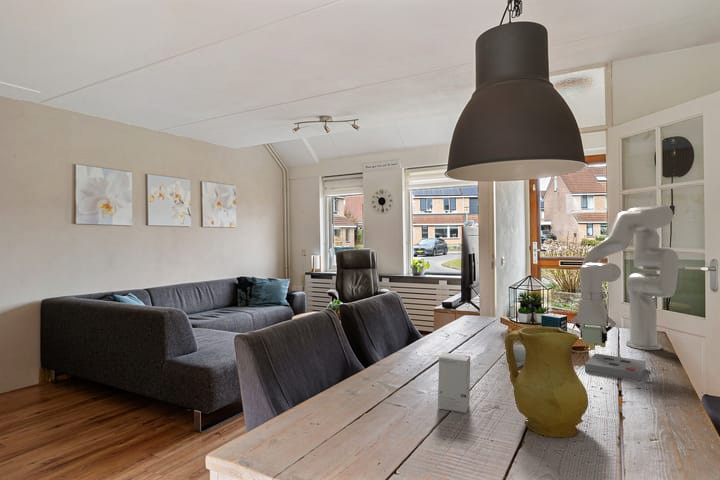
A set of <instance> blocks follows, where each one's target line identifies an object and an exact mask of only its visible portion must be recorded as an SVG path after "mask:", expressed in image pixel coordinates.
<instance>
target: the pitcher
mask: <svg viewBox="0 0 720 480" xmlns="http://www.w3.org/2000/svg"><path fill="white" fill-rule="evenodd" d="M579 339H580V336H579V335H578V334H577V333H573V332H571V331H570V332H568V331H566V330H563V329H562V328H561V327H557V326H556V327H553V326H537V325H536V326H528V327H525V326H524V327H521V328H519V329H516V330H513V331H511V332H510V333H508V334H507V335H506V336H505V339H504V348H505V351H506V352H505V355H506V357H505V358H506V363H507V365H508V371H509V377H510V379H509V380H510V383H511V385H512V386H513V396H514V401H515V406H516V408H517V410H518V411H519V413H520V414H522V415H523V416H524V417H525V418H526V419H525V420H524V421H525V422H524V421H523V422H524V424H525V423H526V425H525V427H526V426H527V427H528V428H527V427H526V428H527V429H528V430H532V431H531V432H533V431H534V432H535V433H534V432H533V433H534V434H536V433H537V434H536V435H541V436H543V435H544V437H550V438H551V437H552V438H571V437H575V436H577V435H579V433H580V431H579V430H578V427H577V426H578V425H580V424H582V423H583V422H584V421H583V420H582V417H583V415H585V414H586V411H587V410H588V406H589V398H588V397H589V396H588V392H587V389H586V387H585V385H584V384H583V382H582V381H581V379H580V378H579V376H578V374H577V372H576V370H575V367H574V365H573V358H572V356H573V355H572V354H573V353H572V351H573V346H574V344H575V343H576V342H577V341H578V340H579ZM515 340H518V341H520V343H521V345H523V346H524V347H525V351H526V356H525V362H524V365H522V368H521V370H520V371H519V367H517V362H516V359H515V355H514V350H513V348H514V341H515ZM526 420H528V421H526Z"/></svg>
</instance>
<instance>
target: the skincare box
mask: <svg viewBox="0 0 720 480" xmlns="http://www.w3.org/2000/svg"><path fill="white" fill-rule="evenodd" d="M437 381H438V385H437V386H438V389H437V393H438V394H437V409H438V410H444V411H445V410H447V411H452V412H459V413H463V414H466V413H467V411H468V409H469V408H470V400H471V399H470V393H471V391H470V390H471V388H470V387H471V386H470V385H471V356H470V355H465V354H459V353H449V352H443V353H441V355H439V357H438V380H437Z"/></svg>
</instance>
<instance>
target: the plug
mask: <svg viewBox="0 0 720 480" xmlns="http://www.w3.org/2000/svg"><path fill="white" fill-rule="evenodd" d="M602 333H603V331H602V329H601V327H600V326H594V325H585V327H584V328H582V338H581V342H582V343H586V346H589V350H591V351H595V350H596V344H599V347H600V348H606V347H607V345H606V342H607V341H606V342H605V343H602Z"/></svg>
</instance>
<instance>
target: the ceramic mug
mask: <svg viewBox="0 0 720 480" xmlns="http://www.w3.org/2000/svg"><path fill="white" fill-rule="evenodd" d="M513 350H514V355H515V359H516V363H517V367H518V368H521V367H523V365H524V362H525V356H526V351H525V347H524V346H523V344H517V345H515V346H513Z"/></svg>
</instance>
